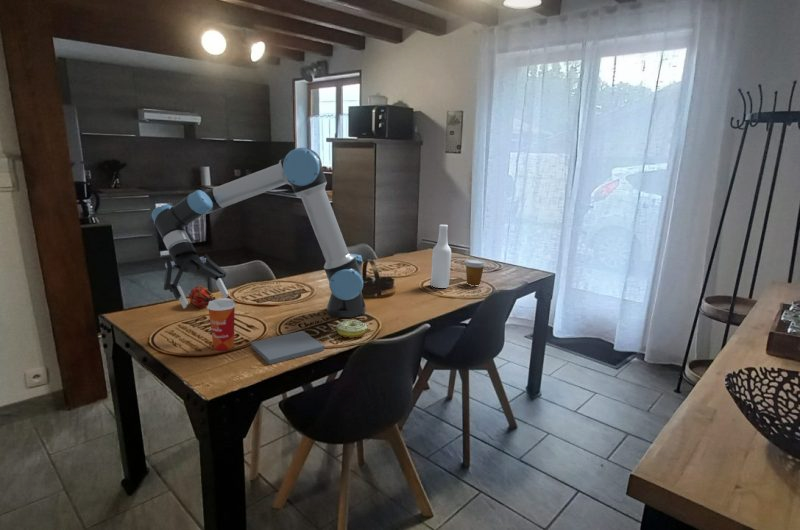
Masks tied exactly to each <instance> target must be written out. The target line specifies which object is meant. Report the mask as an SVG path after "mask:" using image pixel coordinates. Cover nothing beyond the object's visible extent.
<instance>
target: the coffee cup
mask: <svg viewBox="0 0 800 530" xmlns="http://www.w3.org/2000/svg"><path fill="white" fill-rule="evenodd" d="M235 307H236V303H235V301H234V299H233V298H223V297H221V298H219V297H218V298H215V300H212V301H210V302H209V303H208V305H206V308H207V310H208V314H209V324H210V330H211V331H210V333H211V339H212V345H213V349H214V350H215V351H228V350H230V349H233V348H234V345H235Z"/></svg>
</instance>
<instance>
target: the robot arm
mask: <svg viewBox="0 0 800 530" xmlns="http://www.w3.org/2000/svg"><path fill="white" fill-rule="evenodd" d="M327 183H328V181H327V178H326V176H325V173H324V170H323V162H322V159H321V158H320V156H319V154H318V153H317V152H316V151H314V150H313V149H311V148H306V147H297V148H294V149H291V150H290V151H289V152H288V153H287V154H286V155H285V157H284V158H282V159H280V160H279V161H278V163H277V164H274V165H271V166H269V167H266V168H264V169H261V170H258V171H255V172H253V173H250V174H247V175H245V176H242V177H240V178H237V179H234V180H232V181H229V182H226V183H223V184H221V185H219V186H216V187H213V188H211V189H208V190H205V191H203V190H200V189H196V190H195V191H194V192H191V193H189V194H188V195H187V196H186V197H184V198H183V199H182V200H180V201H179V202H177V204H175V205H171V204H162V205H161V206H156V207H155V208H154V209H153V210H152V212H151V218H152V220H153V224H154V226H155V227H156V229H157V231H158V233H159V235H160V236H161V239H162V241H163V243H164V246H165V248H166V249H167V251H168V253H169V256H170V258H171V260H172V261H171V260H169V259H167V260H166V261H165V264H164V265H163V266H164V268H165V276H164V283H163V290H164V291H169V292H170V293H172V294H173V296H174V298H175V299H176V300H179V302H180V305H181V306H182V308H183V309H186V308H187V307H188V305H189V303H190V302H188V299H187V297H186V295H185V293H184V291H183V289H182V287H181V285H178V284H179V281H180V280H181V277H182V275H183V272H184V273H186V274H188V273H190V272H191V273H193V272H196V271H197V272H199V273H202V274H204V275H206V276H208V277H210V278H211V279H213V280H215V281H216V282H215V284H216V286H217V288H218V290H219V292H220V293H221V296H222V298H227V297H228V296H229V295H230V293H229V291H228V290H227V282H226V281H225V278H226V276H227V275H228V273H227V272H226V271H225V270H224V269H223V268H222V267H221V266H219V265H218V264H217V263H216V262H214V261H213V260H212V259H211V258H210V256H209V255H208V254H207V253H206V254H204V255H203V256H198V254H197V251H196V249H195V247H194V245H193V243H192V241H191V239H190V237H189V236H188V233H187V231H186V230H185V227H187V226H188V225H190V224H191V223H193V222H194V221H196V220H198V219H199V218H200V217H204V216H205V215H208V214H210V213H213V212H216V211H218V210H220V209H223V208H226V207H228V206H231V205H234V204H236V203H239V202H242V201H244V200H247V199H250V198H252V197H255V196H259V195H261V194H264V193H265V192H268V191H271V190H274V189H276V188H279V187H282V186H284V185H289V186H291V188H292V191H293V194H294V195H296V196H299V198H301V201H302V204H303V206H304V208H305V211H306V214H307V216H308V219H309V222H310V225H311V226H312V229H313V232H314V235H315V237H316V239H317V242H318V245H319V247H320V249H321V251H322V255H323V257H324V260H325V263H324V266H323V269H324V272H325V275H326V278H327V281H328V288H329V290H330V292H331V293H330V297H329V299H328V302H327V307H326V312H327V314H328V315H330V316H333V317H338V318H355V317H354V316H356V317H359V316H358V315H360V316H362V315H364V314H365V313H366V304H365V303H366V302H365V300H364V296H363V293H362V290H363V288H364V279H363V257H362V255H361V254H355V253H350V252H349V250H348V248H347V244H346V241H345V240H344V236H343V233H342V230H341V229H340V226H339V223H338V221H337V218H336V215H335V213H334V209H333V207H332V204H331V202H330V199H329V197H328V193H327V190H326V187H327V186H326V185H327ZM174 267H175V268H177V269H178V271H177V273H176V276H175V278H174V280H173V281H171V280H172V272H173V268H174ZM171 282H172V283H171ZM363 313H364V314H363ZM361 314H362V315H361Z"/></svg>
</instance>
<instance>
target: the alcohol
mask: <svg viewBox="0 0 800 530" xmlns="http://www.w3.org/2000/svg"><path fill="white" fill-rule="evenodd" d="M438 226H439V227H438V229H439V231H438V236H437V243H436V245H434V246H433V248H432V257H431V272H430V273H431V274H430V276H431V277H430V286H431V287H432V286H433V287H438V288H446V287H448V286H450V275H451V263H452V248H451V247H450V246H449V243H448V229H449V228H448V226H449V225H448V224H439V225H438ZM433 287H432V288H433ZM448 288H449V287H448ZM446 289H447V288H446Z"/></svg>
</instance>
